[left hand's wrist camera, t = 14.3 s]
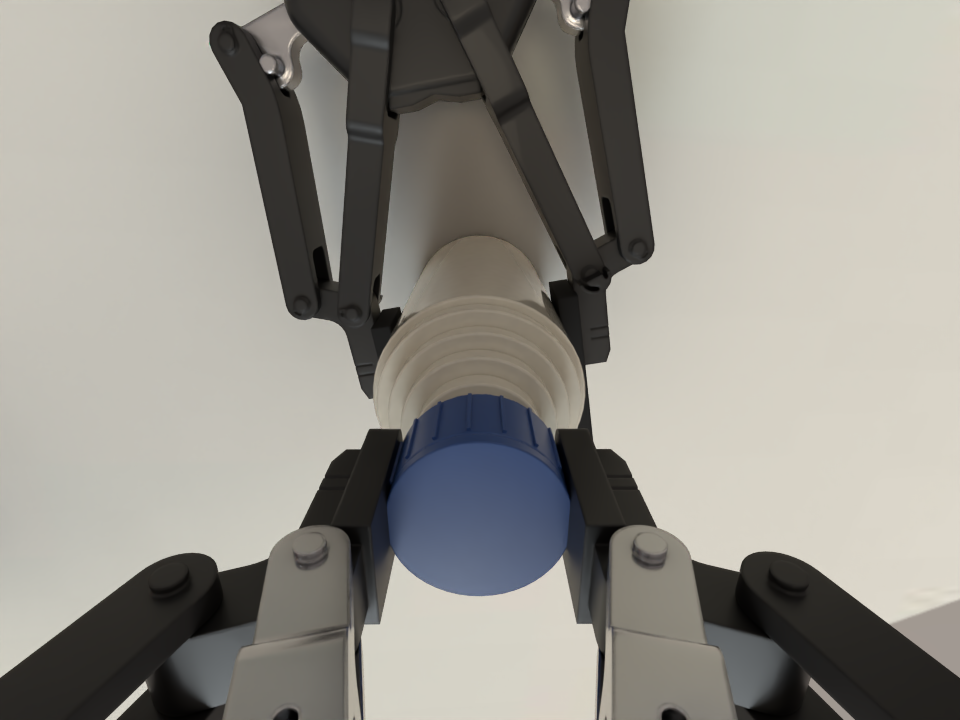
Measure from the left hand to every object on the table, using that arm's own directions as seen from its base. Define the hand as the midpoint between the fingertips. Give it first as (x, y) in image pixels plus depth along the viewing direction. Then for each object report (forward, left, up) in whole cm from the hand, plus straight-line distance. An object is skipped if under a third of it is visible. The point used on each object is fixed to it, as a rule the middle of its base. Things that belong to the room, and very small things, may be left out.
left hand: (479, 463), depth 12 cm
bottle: (0, 0, -16) cm, 16 cm away
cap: (0, 0, +2) cm, 2 cm away
